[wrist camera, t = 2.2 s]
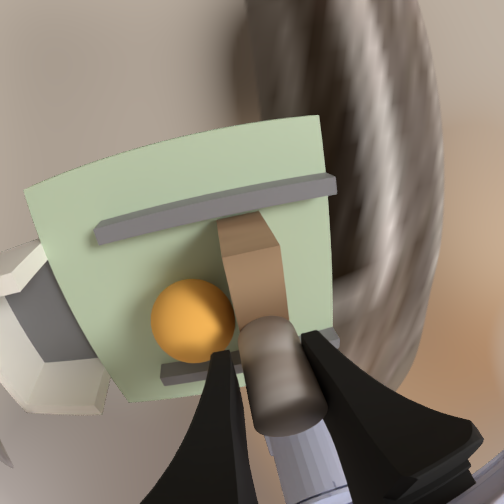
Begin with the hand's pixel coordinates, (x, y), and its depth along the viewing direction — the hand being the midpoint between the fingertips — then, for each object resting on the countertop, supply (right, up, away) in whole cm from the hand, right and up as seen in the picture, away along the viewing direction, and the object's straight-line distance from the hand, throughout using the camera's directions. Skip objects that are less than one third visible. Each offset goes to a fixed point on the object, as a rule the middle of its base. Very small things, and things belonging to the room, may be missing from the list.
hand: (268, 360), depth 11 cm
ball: (-3, +1, +3) cm, 5 cm away
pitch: (-7, +1, +6) cm, 9 cm away
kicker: (-1, +2, +5) cm, 6 cm away
